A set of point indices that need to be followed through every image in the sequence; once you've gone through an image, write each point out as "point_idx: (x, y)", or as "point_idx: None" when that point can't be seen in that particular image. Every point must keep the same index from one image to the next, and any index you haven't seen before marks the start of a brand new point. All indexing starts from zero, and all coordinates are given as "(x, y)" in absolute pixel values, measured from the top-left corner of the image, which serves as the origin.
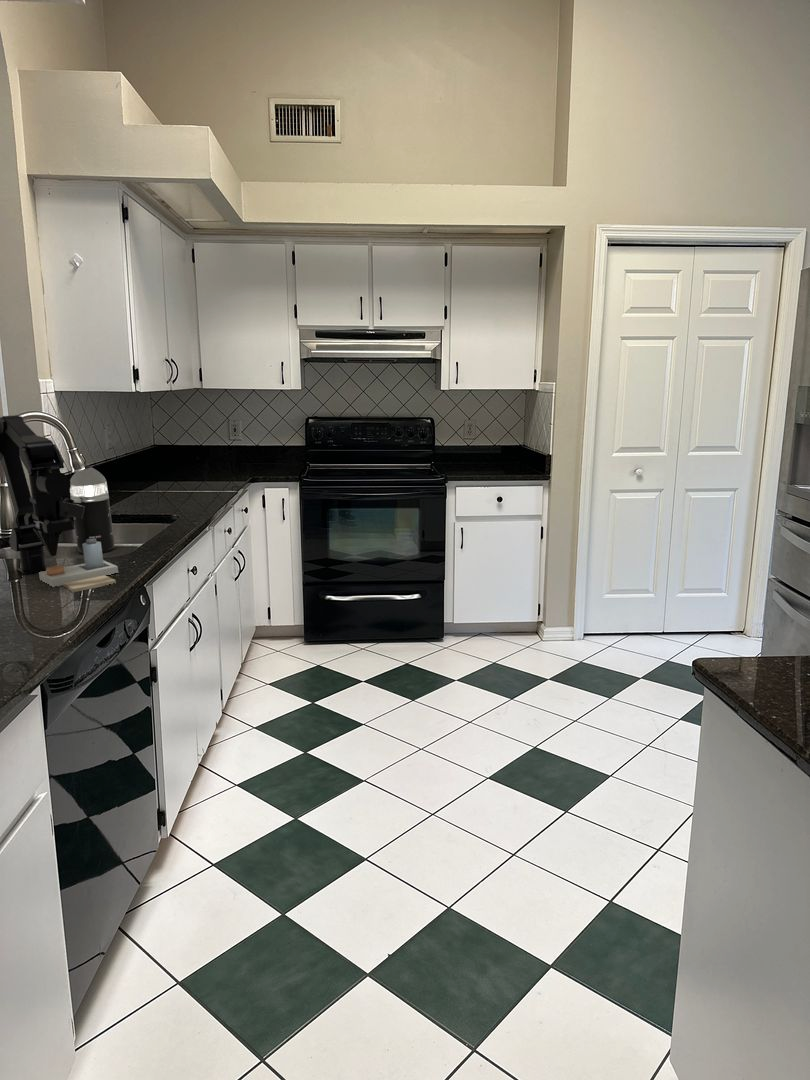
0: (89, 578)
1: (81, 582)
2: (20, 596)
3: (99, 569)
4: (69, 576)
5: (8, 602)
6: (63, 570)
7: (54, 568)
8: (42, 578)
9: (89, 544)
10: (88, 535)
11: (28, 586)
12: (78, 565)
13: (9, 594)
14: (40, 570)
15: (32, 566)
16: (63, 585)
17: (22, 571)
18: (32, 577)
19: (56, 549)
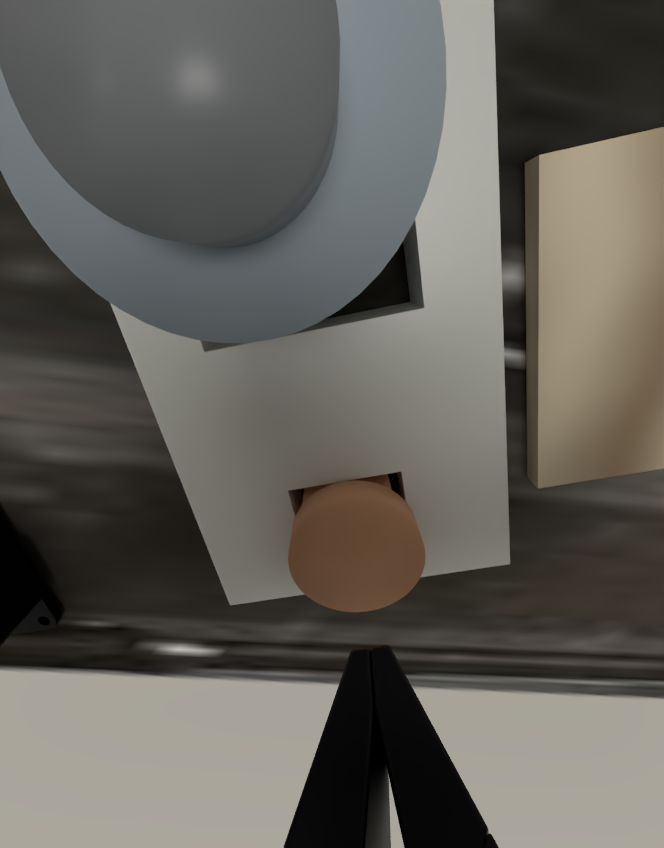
0: (547, 307)
1: (620, 381)
2: (540, 657)
3: (477, 181)
4: (506, 457)
5: (605, 695)
6: (389, 494)
7: (387, 566)
8: None
9: (325, 188)
10: None
11: (358, 618)
12: (163, 346)
13: (458, 686)
14: (19, 553)
15: (21, 619)
16: (532, 481)
17: (16, 632)
18: (150, 589)
19: (425, 714)
